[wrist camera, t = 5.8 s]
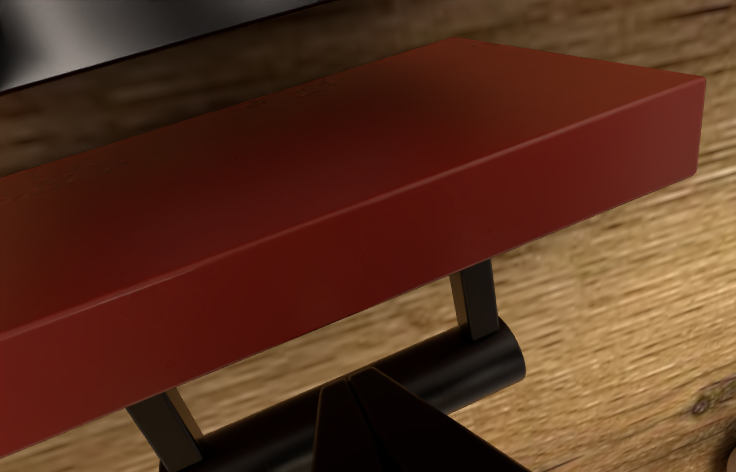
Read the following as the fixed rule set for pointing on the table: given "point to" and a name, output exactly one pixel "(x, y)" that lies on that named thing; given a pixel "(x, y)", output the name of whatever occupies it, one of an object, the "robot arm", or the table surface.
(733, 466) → the rainbow wheeled toy
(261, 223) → the red drawer
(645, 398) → the table surface
